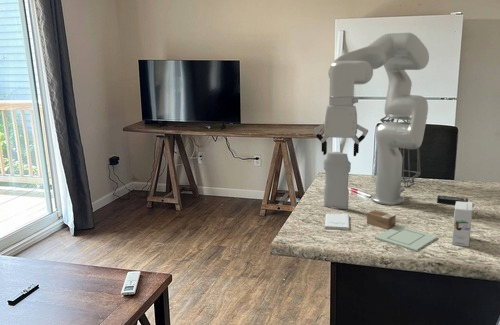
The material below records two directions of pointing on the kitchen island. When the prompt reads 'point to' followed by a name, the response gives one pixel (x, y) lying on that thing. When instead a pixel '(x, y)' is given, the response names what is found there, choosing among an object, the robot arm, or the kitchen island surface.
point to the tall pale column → (336, 180)
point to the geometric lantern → (408, 157)
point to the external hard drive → (337, 221)
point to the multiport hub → (450, 200)
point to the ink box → (462, 223)
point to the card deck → (381, 219)
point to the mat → (406, 238)
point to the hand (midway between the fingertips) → (339, 154)
